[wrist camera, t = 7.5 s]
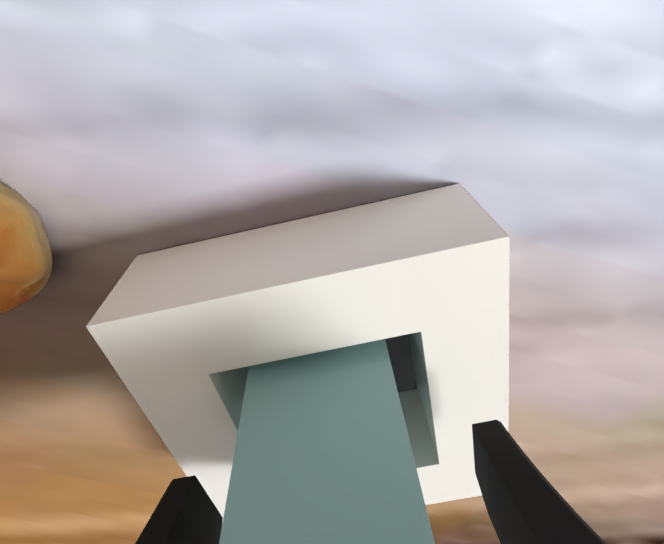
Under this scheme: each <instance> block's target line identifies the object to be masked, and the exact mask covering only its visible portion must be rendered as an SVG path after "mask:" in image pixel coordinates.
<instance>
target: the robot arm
mask: <svg viewBox="0 0 664 544" xmlns="http://www.w3.org/2000/svg"><path fill="white" fill-rule="evenodd" d="M472 433H473V448H474V464H475V474H476V477H477V480H478V483H479V486H480V490H481V493H482V496H483V499H484V502H485V505H486V508H487V511H488V514H489V517H490V519H491V521H492V524H493V526H494V529H495V531H496V533H497V536H498V538H499V540H500V543H501V544H606V543H605V542H604V541H603V540H602V539H601V538H600V537H599V536H598V535H597V534H596V533H595V532H594V531H593V530H592V529H591V528H590V527H589V526H588V524H587V523H586V522H585V521H584V520H583V519H582V518H581V517H580V516H579V515H578V514H577V513H576V512H575V511H574V510H573V508H572V507H571V506H570V505H569V504H568V503H567V502H566V501H565V500H564V499H563V497H562V496H561V495H560V494H559V493H558V492H557V491H556V490H555V489H554V487H553V486H552V485H551V484H550V483H549V482H548V481H547V479H546V478H545V477H544V476H543V475H542V474H541V473H540V471H539V470H538V469H537V468H536V467H535V465H534V464H533V463H532V462H531V460H530V459H529V458H528V457H527V456H526V454H525V453H524V452H523V451H522V449H521V448H520V447H519V446H518V444H517V443H516V442H515V440H514V439H513V438H512V436H511V435H510V434H509V432H508V431H507V430H506V428H505V427H504V425H503V424H502V423H501V422H500V421H498V420H492V421H486V422H481V423H475V424H472ZM222 520H223V517H222V516H221V514H220V513H219V511H218V509H217V508H216V506H215V505H214V503H213V502H212V500H211V499H210V497H209V496H208V494H207V493H206V491H205V490H204V488H203V487H202V485H201V483H200V482H199V480H198V479H197V477H196V476H195V475H194V476H189V477H183V478H178V479H173V480H172V482H171V483H170V485H169V486H168V488H167V490H166V492H165V493H164V495H163V497H162V498H161V500H160V502H159V504H158V505H157V507H156V509H155V511H154V512H153V514H152V516H151V518H150V519H149V521H148V523H147V524H146V526H145V528H144V530H143V531H142V533H141V535H140V536H139V538H138V540H137V542H136V543H135V544H219V541H220V536H221V530H222Z"/></svg>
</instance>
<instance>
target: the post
mask: <svg viewBox="0 0 664 544" xmlns="http://www.w3.org/2000/svg"><path fill="white" fill-rule="evenodd" d="M219 544H435V543H434V539H433V534H432V530H431V526H430V522H429V518H428V514H427V510H426V506H425V502H424V497H423V493H422V489H421V485H420V481H419V477H418V473H417V469H416V465H415V460H414V456H413V452H412V448H411V444H410V440H409V436H408V432H407V428H406V423H405V419H404V415H403V411H402V407H401V403H400V399H399V395H398V391H397V386H396V382H395V378H394V374H393V370H392V366H391V362H390V358H389V353H388V349H387V345H386V341H385V339H382V340H377V341H372V342H367V343H362V344H357V345H352V346H347V347H342V348H337V349H332V350H327V351H322V352H317V353H312V354H307V355H302V356H297V357H292V358H287V359H282V360H277V361H272V362H267V363H262V364H257V365H252V366H249V368H248V374H247V380H246V386H245V392H244V398H243V404H242V410H241V416H240V422H239V428H238V434H237V440H236V446H235V452H234V458H233V464H232V470H231V476H230V482H229V488H228V494H227V500H226V506H225V512H224V518H223V524H222V530H221V536H220V541H219Z"/></svg>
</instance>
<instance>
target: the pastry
mask: <svg viewBox="0 0 664 544" xmlns="http://www.w3.org/2000/svg"><path fill="white" fill-rule="evenodd" d="M52 266H53V261H52V253H51V248H50V244H49V240H48V236H47V233H46V230H45V227H44V224H43V221H42V219H41V217H40V216H39V214H38V213H37V212H36V210H35V209H34V208H33V207H32V206H31V205H30V204H29V203H28V201H27V200H26V199H25V198H24V197H23V196H21V195H20V194H19V193H18V192H16V191H15V190H13V189H11V188H10V187H8V186H6V185H4V184H3V183H1V182H0V314H2V313H4V312H7V311H10V310H12V309H14V308H16V307H17V306H19V305H20V304H22V303H24V302H27V301H29V300H30V299H31V298H32V297H33V296H35V295H36V294H38V293H39V292H40V291H41V290H42V289H43V288H44V287H45V284H46V283H47V281H48V280H49V278H50V275H51V272H52Z"/></svg>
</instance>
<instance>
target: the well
mask: <svg viewBox="0 0 664 544" xmlns="http://www.w3.org/2000/svg"><path fill="white" fill-rule="evenodd" d="M86 328H87V329H88V331H89V332H90V333H91V335H92V336H93V338H94V339H95V341H96V342H97V344H98V345H99V347H100V348H101V350H102V351H103V353H104V354H105V356H106V357H107V359H108V360H109V362H110V363H111V365H112V366H113V368H114V369H115V371H116V372H117V373H118V375H119V376H120V378H121V379H122V381H123V382H124V384H125V385H126V387H127V388H128V390H129V391H130V393H131V394H132V396H133V397H134V399H135V400H136V402H137V403H138V405H139V406H140V408H141V409H142V411H143V412H144V414H145V415H146V416H147V418H148V419H149V421H150V422H151V424H152V425H153V427H154V428H155V430H156V431H157V433H158V434H159V436H160V437H161V439H162V440H163V442H164V443H165V445H166V446H167V448H168V449H169V451H170V452H171V454H172V455H173V456H174V458H175V459H176V461H177V462H178V464H179V465H180V467H181V468H182V470H183V471H184V473H185V474H186V476H187V477H189V476H194V475H195V476H196V477H197V479H198V480H199V482H200V483H201V485H202V487H203V488H204V490H205V491H206V493H207V494H208V496H209V497H210V499H211V500H212V502H213V503H214V505H215V506H216V508H217V509H218V511H219V513H220V514H221V516H222V517H223V518H224V512H225V506H226V500H227V494H228V488H229V482H230V476H231V470H232V464H233V458H234V452H235V446H236V440H237V434H238V428H239V422H240V416H241V410H242V404H243V398H244V392H245V386H246V380H247V374H248V368H249V366H252V365H257V364H262V363H267V362H272V361H277V360H282V359H287V358H292V357H297V356H302V355H307V354H312V353H317V352H322V351H327V350H332V349H337V348H342V347H347V346H352V345H357V344H362V343H367V342H372V341H377V340H382V339H385V341H386V345H387V349H388V353H389V358H390V362H391V366H392V370H393V374H394V378H395V382H396V386H397V391H398V395H399V399H400V403H401V407H402V411H403V415H404V419H405V423H406V428H407V432H408V436H409V440H410V444H411V448H412V452H413V456H414V460H415V465H416V469H417V473H418V477H419V481H420V485H421V489H422V493H423V497H424V502H425V505H428V504H434V503H440V502H446V501H451V500H457V499H463V498H469V497H475V496H481V495H482V493H481V490H480V486H479V483H478V480H477V477H476V474H475V464H474V448H473V433H472V424H475V423H481V422H486V421H492V420H498V421H500V422H501V423H502V424H503V425H504V427H505V428H506V430H507V431H508V407H509V235H508V234H507V233H506V232H505V231H504V230H503V229H502V228H501V227H500V226H499V225H498V224H497V222H496V221H495V220H494V219H493V218H492V217H491V216H490V215H489V214H488V213H487V212H486V211H485V210H484V208H483V207H482V206H481V205H480V204H479V203H478V202H477V201H476V200H475V199H474V198H473V197H472V196H471V195H470V193H469V192H468V191H467V190H466V189H465V188H464V187H463V186H462V185H461V184H460V183H459V184H454V185H450V186H445V187H441V188H436V189H432V190H428V191H423V192H419V193H414V194H410V195H405V196H401V197H396V198H392V199H387V200H383V201H378V202H374V203H369V204H365V205H360V206H356V207H351V208H347V209H342V210H338V211H334V212H329V213H325V214H320V215H316V216H311V217H307V218H302V219H298V220H293V221H289V222H284V223H280V224H275V225H271V226H266V227H262V228H257V229H253V230H248V231H244V232H240V233H235V234H231V235H226V236H222V237H217V238H213V239H208V240H204V241H199V242H195V243H190V244H186V245H181V246H177V247H172V248H168V249H163V250H159V251H154V252H150V253H146V254H141V255H137V256H136V258H135V259H134V260H133V262H132V263H131V265H130V266H129V267H128V269H127V270H126V271H125V273H124V274H123V276H122V277H121V278H120V280H119V281H118V283H117V284H116V285H115V287H114V288H113V290H112V291H111V292H110V294H109V295H108V297H107V298H106V299H105V301H104V302H103V303H102V305H101V306H100V308H99V309H98V310H97V312H96V313H95V315H94V316H93V317H92V319H91V320H90V322H89V323H88V324H87V326H86ZM222 524H223V520H222Z"/></svg>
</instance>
